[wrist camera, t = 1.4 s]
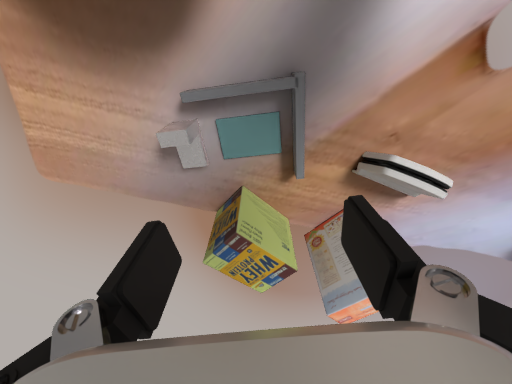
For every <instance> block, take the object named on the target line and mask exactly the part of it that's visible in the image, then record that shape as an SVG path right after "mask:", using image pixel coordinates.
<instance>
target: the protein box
mask: <svg viewBox="0 0 512 384" xmlns="http://www.w3.org/2000/svg"><path fill="white" fill-rule="evenodd" d="M203 263H204V264H206V265H208V266H210V267H212V268H214V269H216V270H218V271H220V272H222V273H224V274H226V275H228V276H229V277H231V278H233V279H235V280H237V281H239V282H241V283H243V284H245V285H247V286H249V287H251V288H253V289H255V290H257V291H259V292H261V293H263V292H264V291H266V290H268V289H269V288H271V287H272V286H274V285H275V284H277V283H279V282H280V281H282V280H283V279H285V278H287V277H288V276H290V275H291V274H293V273H295V272H297V271H298V269H297V264H296V258H295V253H294V247H293V242H292V237H291V232H290V226H289V220H288V219H287V218H286V217H284V216H283V215H282V214H280V213H279V212H278V211H276V210H275V209H274V208H272V207H271V206H270V205H268V204H267V203H266V202H264V201H263V200H261V199H260V198H259V197H257V196H256V195H255V194H253V193H252V192H251V191H249V190H248V189H247V188H245V187H244V186H242V187H241V188H240V189H239V190H238V191H237V192H236V193H235V194H234V195H233V196H232V197H231V198H230V199H229V200H228V201H227V202H226V203H225V204H224V205H223V206H222V207H221V208H220V209H219V210H218V211H217V214H216V217H215V221H214V225H213V228H212V232H211V236H210V239H209V243H208V247H207V250H206V253H205V257H204V260H203Z"/></svg>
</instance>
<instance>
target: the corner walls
mask: <svg viewBox="0 0 512 384" xmlns="http://www.w3.org/2000/svg"><path fill="white" fill-rule="evenodd" d="M285 89H292V116H293V160H294V173H295V176H296V179H303V178H304V140H305V72H293V73H292V76H289V77H281V78H274V79H267V80H259V81H252V82H245V83H237V84H230V85H223V86H215V87H208V88H201V89H193V90H187V91H184V92H181V93H180V96H181V99H182V103H186V102H194V101H201V100H209V99H216V98H224V97H232V96H239V95H247V94H254V93H262V92H270V91H277V90H285Z"/></svg>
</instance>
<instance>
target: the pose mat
mask: <svg viewBox="0 0 512 384" xmlns="http://www.w3.org/2000/svg"><path fill="white" fill-rule="evenodd" d="M216 124H217V129H218V133H219V138H220V142H221V147H222V151H223V156H224V159H230V158H239V157H248V156H257V155H266V154H276V153H281V137H280V120H279V112H272V113H264V114H256V115H248V116H240V117H232V118H224V119H216Z"/></svg>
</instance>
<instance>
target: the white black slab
mask: <svg viewBox="0 0 512 384" xmlns="http://www.w3.org/2000/svg"><path fill="white" fill-rule="evenodd" d="M362 157H364V158H363V159H365V160H367V161H369V162H365V161H362V162H359V164H358V167H357V171H356V170H352V172H353V173H356V174H358V175H360V176H363V177H365V178H368V179H370V180H373V181H375V182H377V183H380V184H382V185H385V186H387V187H390V188H392V189H395V190H397V191H399V192H402V193H404V194H407V195H409V196H413V197H416V196H418V195H420V194H424V195H428V196H432V197H436V198H440V199H444V198H445V197H446V196H447V195H448V194H447V191H446V190H445V189H449V188H452V185H453V181H452V180H451V179H449V178H448V177H446V176H444V175H442V174H440V173H438V172H436V171H434V170H432V169H430V168H428V167H425V166H423V165H420V164H418V163H415V162H413V161H410V160H407V159H404V158H402V157H399V156H396V155H391V154H383V153H375V152H367V151H366V152H365V153H364V154H363V155H362Z"/></svg>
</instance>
